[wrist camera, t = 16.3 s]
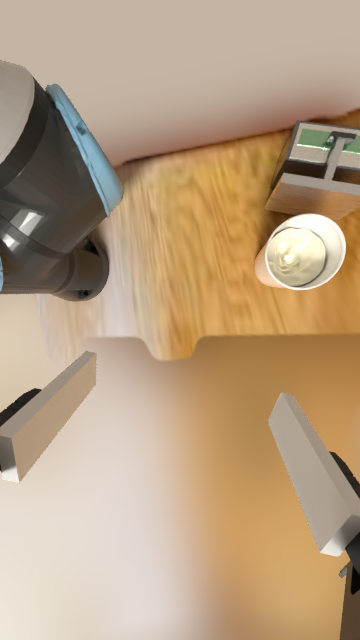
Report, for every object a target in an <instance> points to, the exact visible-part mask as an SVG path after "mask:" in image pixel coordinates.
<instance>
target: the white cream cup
mask: <svg viewBox="0 0 360 640" xmlns="http://www.w3.org/2000/svg"><path fill="white" fill-rule="evenodd" d="M345 253H346V242H345V238H344V235H343V232H342V231H341V229H340V228H339V226H338V225H337V224H336V223H335V222H334V221H332V220H331V219H329V218H328V217H325V216H323V215H319V214H301V215H297V216H294V217H292V218H290V219H288V220H286V221H285V222H283V223H282V224H281V225H279V226H278V227H277V228H276V229H275V231H274V232H273V233H272V235H271V236H270V238H269V239H268V241H267V242H266V244H265V245H264V246H263V248H262V249H261V250H260V252H259V253H258V255H257V257H256V259H255V263H254V270H255V274H256V276H257V278H258V279H259V280H260V281H261V282H262V283H263V284H265V285H267V286H270V287H277V288H289V289H295V290H306V289H312V288H315V287H318V286H320V285H322V284H324V283H325V282H327V281H328V280H330V279H331V278H332V277H333V276H334V275H335V274H336V273H337V271H338V270H339V268H340V267H341V265H342V263H343V260H344V257H345Z"/></svg>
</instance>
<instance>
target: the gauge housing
mask: <svg viewBox="0 0 360 640" xmlns="http://www.w3.org/2000/svg"><path fill="white" fill-rule="evenodd" d="M332 131H337V132H345V133H353V134H357V135H356V138H355V140H354V141H353V142H352V143H351V144H350V145H347V144H344V146H343V149H342V152H341V155H340V158H339V161H338V163H337V166H336V169H335V172H334V175H333V178H332V181H338V182H344V183H350V184H356V185H360V128H352V127H344V126H336V125H328V124H320V123H312V122H304V121H297V122H296V124H295V126H294V128H293V130H292V132H291V134H290V136H289V138H288V140H287V143H286V145H285V147H284V149H283V151H282V153H281V155H280V157H279V160H278V163H277V167H276V170H275V173H274V177H273V180H272V183H271V187H270V188H275V187H276V185H277V183H278V182H279V180H280V178H281V177H282V175H283V173H288V174H294V175H300V176H307V177H313V178H319V179H322V177H323V174H324V171H325V168H326V166H327V163H328V160H329V157H330V154H331V151H332V148H333V145H334V143H332V142H327V139H328V136H329V135H330V134H331V132H332Z"/></svg>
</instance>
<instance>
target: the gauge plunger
mask: <svg viewBox="0 0 360 640" xmlns="http://www.w3.org/2000/svg"><path fill="white" fill-rule="evenodd" d="M356 135H357V134H353V133H345V132H337V131H332V132H331V134H330V135H329V136H328V139H327V142H332V143H334V145H333V148H332V151H331V154H330V157H329V160H328V163H327V166H326V168H325V171H324V174H323V177H322V179H319V178H313V177H307V176H300V175H294V174H288V173H283V175H282V177H281V178H280V180H279V182H278V183H277V185H276V187H275V189H274V190H273V192H272V194H271V196H270V197H269V199H268V201H267V203H266V206H265V210H270V211H275V212H281V213H286V214H291V215H301V214H319V215H323V216H325V217H328V218H329V219H331V220H332V221H334V222H335V221H337V220H339V219H340V218H342V217H344V216H345V215H347V214H349V213H351V212H352V211H354V210H356V209H357V208H359V207H360V185H356V184H350V183H344V182H338V181H332V178H333V175H334V172H335V169H336V166H337V163H338V161H339V158H340V155H341V152H342V149H343V146H344V144H347V145H350V144H351V143H352V142H353V141H354V140H355V138H356Z"/></svg>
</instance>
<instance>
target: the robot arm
mask: <svg viewBox="0 0 360 640" xmlns="http://www.w3.org/2000/svg"><path fill="white" fill-rule="evenodd" d="M123 192H124V190H123V186H122V183H121V181H120V179H119V177H118V175H117V174H116V172H115V170H114V169H113V167H112V165H111V164H110V162H109V160H108V159H107V157H106V155H105V154H104V152H103V151H102V149H101V147H100V146H99V144H98V143H97V141H96V140H95V138H94V137H93V135H92V133H91V132H90V131H89V130H88V128H87V126H86V124H85V123H84V121H83V120H82V118H81V117H80V115H79V113H78V112H77V110H76V109H75V108H74V106H73V104H72V103H71V101H70V100H69V98H68V97H67V95H66V94H65V92H64V91H63V90H62V89H61V88H60V86H59V85H57V84H53V85H51V86H50V85H47V87H46V91H44V90H43V88H42V87H41V86H40V85H39V83H38V82H37V81H36V80H35V79H34V77H33V76H32V75H31V74H30V72H29V71H28V70H27V69H26V68H24V67H23V66H20V65H16V64H13V63H9V62H5V61H2V60H0V294H45V293H46V294H52V295H54V296H57V297H60V298H62V299H65V300H68V301H86V300H89V299H92V298H94V297H95V296H97V295H98V294H99V293H100V292H101V291H102V289H103V288H104V286H105V284H106V281H107V278H108V271H109V267H108V260H107V256H106V254H105V252H104V250H103V248H102V247H101V245H100V244H99V243H98V242H97V241H96V240H95V239H93V238H92V237H90V236H88V234H89V233H90V232H91V231H92V230H93V229H94V228H95V227H96V226H97V225H98V224H99V223H100V222H101V221H102V220H103V219H104V218H105V217H107V218H108V217H109V216H110V212H111V211H112V210H113V209H114V208H115V207H116V206H117V205H118V204H119V202H120V201H121V200H122V198H123ZM95 383H96V353H92V352H88V351H86V352H85V353H83V354H82V355H81V356H80V357H79V358H78V359H77V360H75V361H74V362H73V363H72V364H71V365H70V366H69V367H67V368H66V370H64V371H63V372H62V373H61V374H60V375H58V376H57V377H56V378H55V379H54V380H53V381H52V382H51V383H50V384H49V385H47V386H46V387H45V388H44V389H43V390H41V389H36V388H35V389H32V390H31V391H28V392H26V393H24V394H23V395H22V396H20V397H19V398H18V399H17V400H15V402H14V403H12V404H11V405H9V406H8V407H7V409H4V410H3V411H2V412H1V413H0V471H1V474H2V479H5V480H9V481H13V482H17V483H20V481H21V480H22V479H23V477H24V476H25V475H26V474H27V472H28V471H29V470H30V468H31V467H32V466H33V464H34V463H35V462H36V461H37V459H38V458H39V457H40V455H41V454H42V453H43V452H44V450H45V449H46V448H47V447H48V445H49V444H50V443H51V441H52V440H53V439H54V438H55V436H56V435H57V434H58V432H59V431H60V430H61V428H62V427H63V426H64V425H65V423H66V422H67V421H68V419H69V418H70V417H71V416H72V414H73V413H74V411H75V410H76V409H77V408H78V407H79V405H80V404H81V403H82V401H83V400H84V399H85V398H86V396H87V395H88V394H89V392H90V391H91V390H92V388H93V387H94V386H95ZM268 424H269V426H270V428H271V431H272V433H273V436H274V438H275V441H276V444H277V446H278V449H279V451H280V454H281V456H282V459H283V461H284V464H285V466H286V469H287V471H288V474H289V476H290V479H291V481H292V484H293V486H294V489H295V491H296V494H297V496H298V499H299V502H300V504H301V507H302V509H303V512H304V514H305V516H306V519H307V522H308V524H309V527H310V529H311V532H312V534H313V537H314V539H315V542H316V544H317V546H318V549H319V552H320V553H324V554H328V555H333V556H337V557H338V556H339V555H340V554H341V553H342V552H343V551H344V550H345V549H346V551H347V554H348V555H349V558H350V560H351V561H350V562H349V563H348V564H347V565H346V566H345V567H344V568H343V569H342V570H341V571H340V573H339V576H340V577H341V578H343V577H344V576H345V575H346V574H347V575H346V584H345V595H344V603H343V613H342V622H341V631H340V640H360V484H359V482H358V481H357V480H356V478H355V477H353V474H352V472H351V471H350V469H349V468H348V466H347V465H346V463H345V462H344V461H342V459H341V458H339V456H337V454H336V453H334V452H330V451H328V449H327V448H326V446H325V445H324V443H323V442H322V440H321V438H320V437H319V435H318V434H317V432H316V431H315V429H314V428H313V426H312V424H311V423H310V421H309V420H308V418H307V417H306V415H305V414H304V412H303V410H302V409H301V408H300V406H299V404H298V403H297V402H296V400H295V398H294V397H293V395H292V394H288V393H283V392H281V394H280V396H279V398H278V400H277V402H276V405H275V407H274V409H273V411H272V413H271V416H270V418H269V420H268Z"/></svg>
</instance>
